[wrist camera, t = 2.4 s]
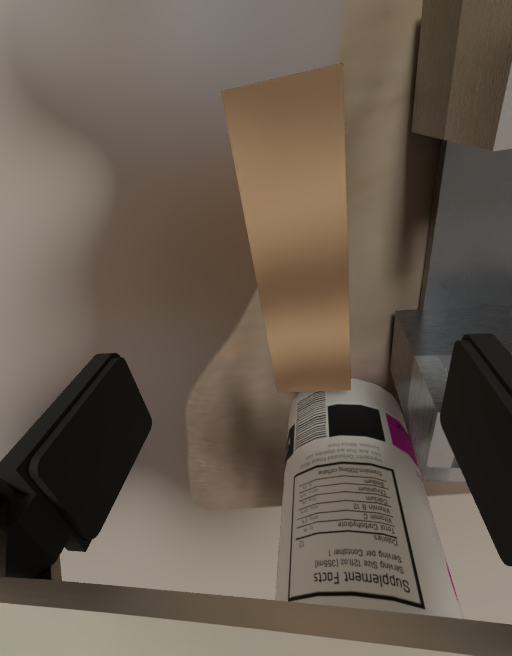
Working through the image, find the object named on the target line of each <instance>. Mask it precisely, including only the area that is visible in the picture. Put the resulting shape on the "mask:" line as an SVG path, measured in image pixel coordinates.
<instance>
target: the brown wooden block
mask: <svg viewBox="0 0 512 656" xmlns="http://www.w3.org/2000/svg"><path fill="white" fill-rule="evenodd" d="M221 95H222V100H223V105H224V111H225V116H226V121H227V126H228V131H229V137H230V142H231V147H232V153H233V158H234V164H235V168H236V174H237V179H238V185H239V190H240V195H241V201H242V205H243V211H244V216H245V222H246V226H247V232H248V238H249V243H250V248H251V254H252V259H253V264H254V269H255V275H256V280H257V285H258V291H259V296H260V301H261V307H262V312H263V317H264V322H265V328H266V333H267V338H268V344H269V349H270V354H271V360H272V365H273V370H274V375H275V381H276V386H277V391H278V392H309V391H347V390H351V368H350V327H349V286H348V245H347V203H346V162H345V121H344V80H343V63H340V64H336V65H332V66H327V67H323V68H319V69H315V70H310V71H306V72H302V73H298V74H293V75H289V76H285V77H280V78H276V79H271V80H267V81H263V82H258V83H254V84H250V85H246V86H241V87H237V88H233V89H228V90H224V91H221Z"/></svg>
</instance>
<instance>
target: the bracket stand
mask: <svg viewBox="0 0 512 656" xmlns="http://www.w3.org/2000/svg"><path fill="white" fill-rule="evenodd" d="M411 132H413V133H417V134H421V135H425V136H430V137H434V138H438V139H441V145H440V153H439V160H438V168H437V175H436V183H435V190H434V198H433V205H432V213H431V220H430V228H429V235H428V243H427V250H426V258H425V265H424V273H423V280H422V288H421V296H420V303H419V309H418V310H401V311H395V322H394V333H393V344H392V356H391V367H390V371H391V374H392V377H393V381H394V384H395V387H396V391H397V394H398V397H399V401H400V404H401V407H402V411H403V414H404V417H405V420H406V424H407V427H408V430H409V434H410V437H411V440H412V444H413V447H414V450H415V454H416V457H417V460H418V464H419V467H420V470H421V474H422V477H423V480H433V481H458V482H466V480H465V478H464V476H463V474H462V471H461V469H460V467H459V465H458V463H457V460H456V458H455V456H454V454H453V451H452V449H451V447H450V445H449V443H448V440H447V438H446V436H445V434H444V431H443V429H442V427H441V423H440V412H441V407H442V402H443V397H444V392H445V387H446V382H447V377H448V372H449V367H450V362H451V357H452V352H453V347H454V343H455V342H456V341H457V340H461V339H462V337H463V336H464V335H466V334H482V333H491V334H493V335H494V336H495V337H496V338H497V339H498V340H499V341H500V342H501V343H502V344H503V346H504V347H505V348H506V349H507V350H508V351H509V352H510V353H511V355H512V0H423V7H422V19H421V30H420V41H419V52H418V64H417V75H416V86H415V97H414V108H413V120H412V131H411Z"/></svg>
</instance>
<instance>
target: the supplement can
mask: <svg viewBox="0 0 512 656" xmlns="http://www.w3.org/2000/svg"><path fill="white" fill-rule="evenodd" d="M275 600H276V601H287V602H298V603H308V604H318V605H328V606H339V607H349V608H359V609H369V610H379V611H390V612H400V613H410V614H420V615H430V616H441V617H449V618H458V619H463V616H462V612H461V609H460V606H459V602H458V599H457V595H456V592H455V589H454V585H453V582H452V579H451V575H450V572H449V569H448V566H447V562H446V558H445V555H444V552H443V548H442V545H441V542H440V538H439V535H438V532H437V528H436V525H435V522H434V518H433V515H432V512H431V508H430V505H429V501H428V498H427V495H426V491H425V488H424V485H423V481H422V478H421V475H420V471H419V468H418V464H417V461H416V458H415V454H414V451H413V448H412V444H411V441H410V438H409V434H408V431H407V427H406V424H405V421H404V417H403V414H402V411H401V407H400V406H399V404H398V403H397V401H396V400H395V398H394V397H393V395H392V394H390V393H389V392H387V391H386V390H384V389H383V388H381V387H380V386H378V385H377V384H373V383H370V382H366V381H363V380H359V379H355V378H351V390H347V391H309V392H300V393H299V394H298V396H297V397H296V398H295V400H294V401H293V402H292V404H291V407H290V412H289V419H288V433H287V446H286V460H285V473H284V487H283V500H282V515H281V527H280V541H279V555H278V568H277V581H276V595H275Z"/></svg>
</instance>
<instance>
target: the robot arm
mask: <svg viewBox="0 0 512 656" xmlns="http://www.w3.org/2000/svg"><path fill="white" fill-rule="evenodd" d="M440 423H441V427H442V429H443V431H444V434H445V436H446V438H447V440H448V443H449V445H450V447H451V449H452V451H453V454H454V456H455V458H456V460H457V463H458V465H459V467H460V469H461V471H462V474H463V476H464V478H465V480H466V483H467V485H468V487H469V489H470V492H471V494H472V496H473V498H474V500H475V503H476V505H477V507H478V509H479V511H480V514H481V516H482V518H483V520H484V523H485V525H486V527H487V529H488V532H489V534H490V536H491V538H492V540H493V543H494V545H495V547H496V549H497V551H498V554H499V556H500V558H501V559H502V561H503V562H504V564H506V565H507V566H512V355H511V353H510V352H509V351H508V350H507V349H506V348H505V347H504V346H503V344H502V343H501V342H500V341H499V340H498V339H497V338H496V337H495V336H494V335H493V334H491V333H482V334H466V335H464V336H463V337H462V339H461V340H457V341H456V342H455V343H454V347H453V352H452V357H451V362H450V367H449V372H448V377H447V382H446V387H445V392H444V397H443V402H442V407H441V412H440ZM151 426H152V419H151V416H150V414H149V412H148V409H147V407H146V405H145V403H144V401H143V398H142V396H141V394H140V392H139V389H138V387H137V385H136V383H135V381H134V378H133V376H132V374H131V372H130V370H129V367H128V365H127V363H126V361H125V360H124V358H121V357H120V356H119V355H118V354H117V353H106V354H97V355H95V356H94V357H93V359H92V360H91V361H90V362H89V363H88V364H87V365H86V366H85V367H84V368H83V370H82V371H81V372H80V373H79V374H78V375H77V376H76V377H75V378H74V380H73V381H72V382H71V383H70V384H69V385H68V386H67V387H66V389H65V390H64V391H63V392H62V393H61V394H60V395H59V396H58V398H57V399H56V400H55V401H54V402H53V403H52V404H51V406H50V407H49V408H48V409H47V410H46V411H45V412H44V413H43V415H42V416H41V417H40V418H39V419H38V420H37V421H36V422H35V423H34V425H33V426H32V427H31V428H30V429H29V430H28V431H27V433H26V434H25V435H24V436H23V437H22V438H21V439H20V440H19V441H18V443H17V444H16V445H15V446H14V447H13V448H12V449H11V451H10V452H9V453H8V454H7V455H6V456H5V457H4V458H3V459H2V461H1V462H0V656H512V625H509V624H500V623H492V622H484V621H475V620H466V619H458V618H449V617H441V616H430V615H420V614H410V613H400V612H390V611H379V610H369V609H359V608H349V607H339V606H328V605H318V604H308V603H298V602H287V601H276V600H266V599H254V598H244V597H234V596H222V595H212V594H200V593H190V592H179V591H168V590H157V589H146V588H135V587H124V586H112V585H101V584H89V583H78V582H66V581H62V577H61V566H60V554H61V552H62V550H63V548H64V547H65V548H66V549H67V550H69V551H83V552H86V550H87V548H88V546H89V544H90V542H91V540H92V539H94V538H95V537H96V536H97V535H98V534H99V532H100V531H101V529H102V526H103V524H104V523H105V521H106V518H107V516H108V514H109V512H110V510H111V508H112V506H113V504H114V502H115V500H116V498H117V496H118V494H119V492H120V490H121V488H122V486H123V484H124V482H125V480H126V478H127V476H128V474H129V472H130V470H131V468H132V466H133V464H134V462H135V460H136V458H137V456H138V454H139V452H140V450H141V448H142V446H143V444H144V442H145V440H146V438H147V436H148V434H149V432H150V430H151Z"/></svg>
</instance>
